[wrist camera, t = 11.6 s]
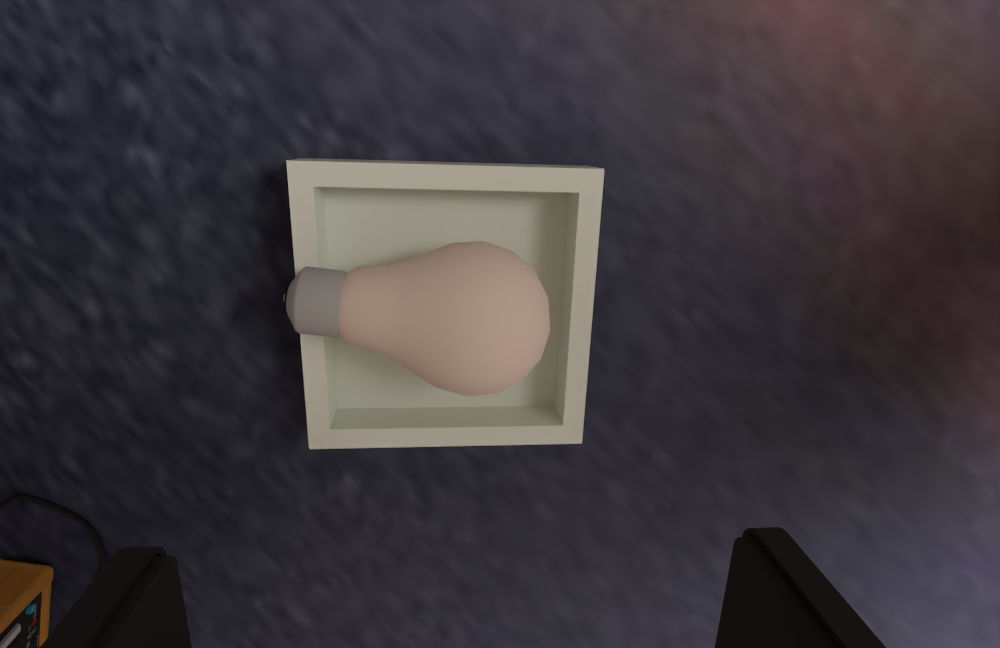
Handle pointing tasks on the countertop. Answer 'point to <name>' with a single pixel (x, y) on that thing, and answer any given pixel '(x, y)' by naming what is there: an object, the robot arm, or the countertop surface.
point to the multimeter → (30, 590)
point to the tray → (420, 229)
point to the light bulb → (434, 314)
